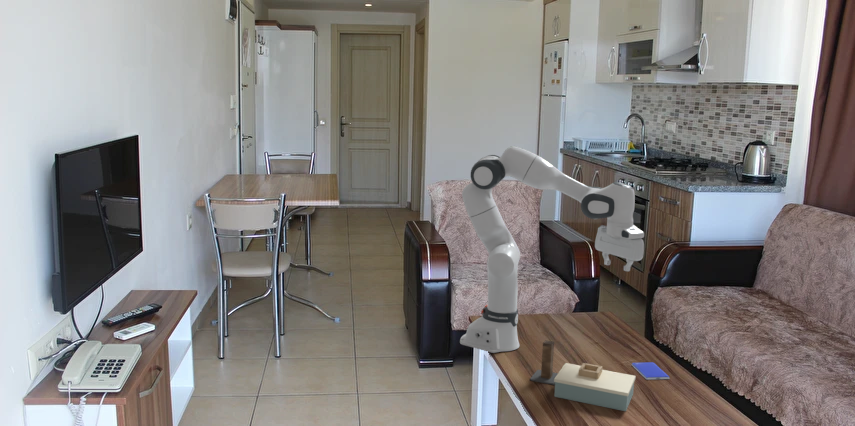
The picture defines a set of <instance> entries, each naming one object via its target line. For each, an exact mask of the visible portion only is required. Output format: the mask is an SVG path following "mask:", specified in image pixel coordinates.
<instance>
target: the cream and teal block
mask: <svg viewBox="0 0 855 426" xmlns="http://www.w3.org/2000/svg"><path fill="white" fill-rule="evenodd" d="M636 379H637V377H636V375H635V374H634V375H633V374H627V373H622V372H619V371H618V372H615V371H611V370H607V369H603V365H596V364H591V363H587V362H582V364H581V365H578V364H574V363H568V362H565V363H564V364H563V366H562V368H561V369H560V370H559V371H558V374H557V376H556V377H555V378H554V382H555V385H554V397H555V398H559V399H564V400H569V401H574V402H579V403H584V404H589V405H593V406H598V407H602V408H603V407H604V408H608V409H613V410H618V411H621V412H622V411H623V412H627V410H628V407H629V405H630V403H631V400H632V398H633V395H634V391H635V390H634V389H635V381H636Z"/></svg>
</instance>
